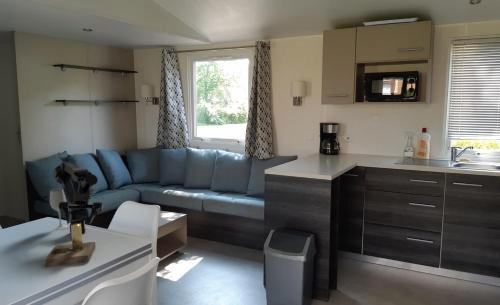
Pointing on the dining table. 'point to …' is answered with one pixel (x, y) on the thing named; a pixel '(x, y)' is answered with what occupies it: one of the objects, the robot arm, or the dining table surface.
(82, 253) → the keyhole board
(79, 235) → the peg
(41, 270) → the dining table surface
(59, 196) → the wineglass
